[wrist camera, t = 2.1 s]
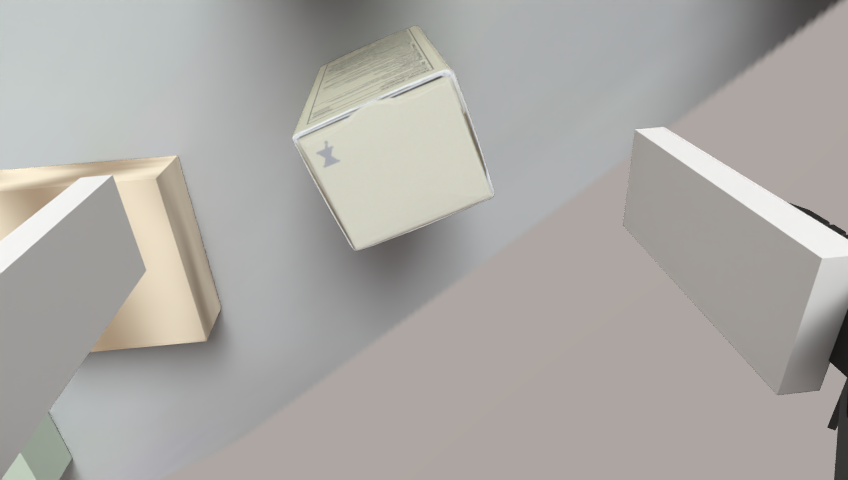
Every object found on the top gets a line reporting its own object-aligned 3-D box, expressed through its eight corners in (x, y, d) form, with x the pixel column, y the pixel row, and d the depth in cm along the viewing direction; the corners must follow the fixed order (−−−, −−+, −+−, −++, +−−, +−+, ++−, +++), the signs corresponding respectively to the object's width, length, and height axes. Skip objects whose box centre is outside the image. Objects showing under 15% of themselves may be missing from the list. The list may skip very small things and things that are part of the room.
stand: (177, 155, 27) (155, 178, 24) (221, 307, 31) (206, 340, 28) (-13, 171, 26) (-56, 196, 24) (58, 322, 31) (28, 357, 28)
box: (356, 147, 27) (344, 260, 17) (317, 64, 25) (278, 138, 15) (455, 107, 27) (500, 200, 17) (423, 19, 25) (453, 66, 15)
